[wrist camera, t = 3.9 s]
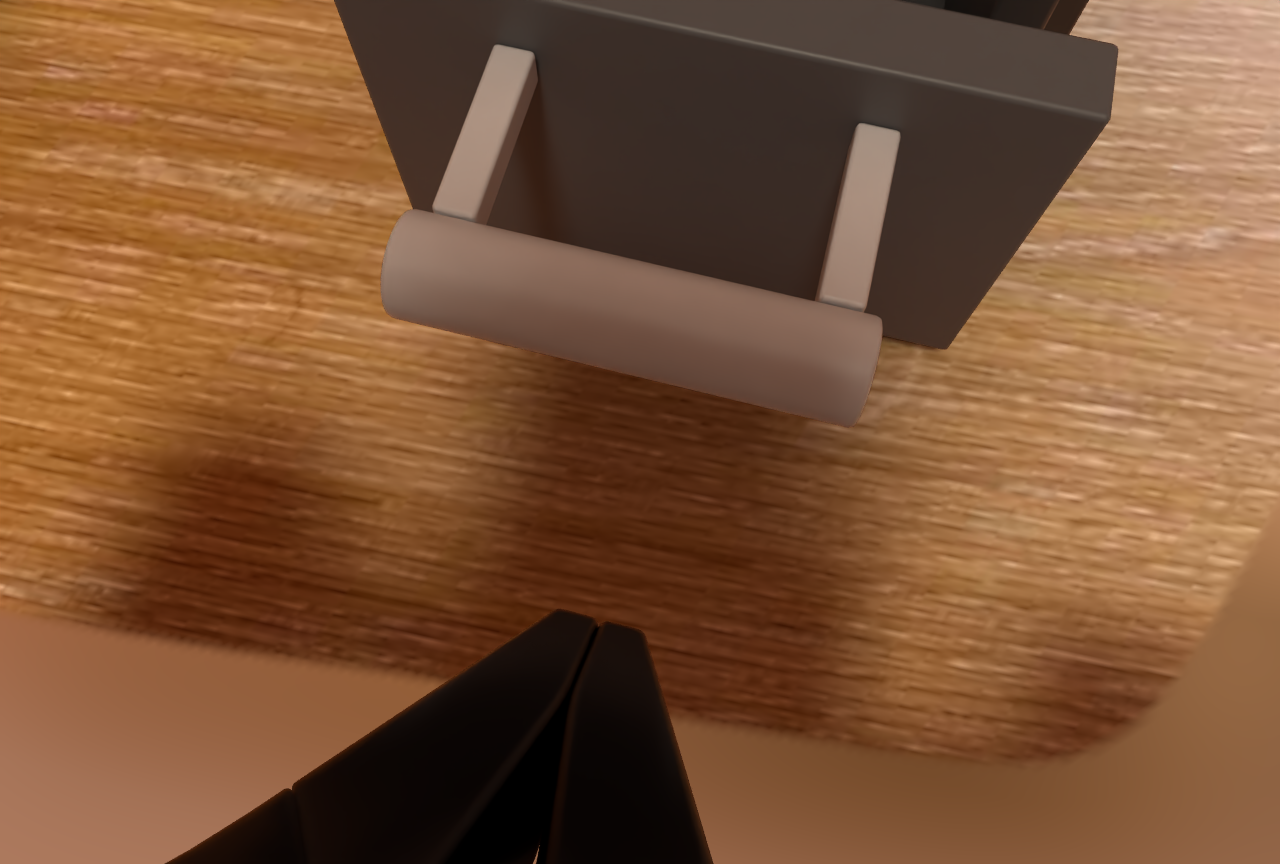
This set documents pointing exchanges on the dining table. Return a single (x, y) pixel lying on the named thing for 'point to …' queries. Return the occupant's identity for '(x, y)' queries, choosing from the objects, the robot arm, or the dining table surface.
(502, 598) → the dining table surface
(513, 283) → the drawer
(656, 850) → the robot arm
